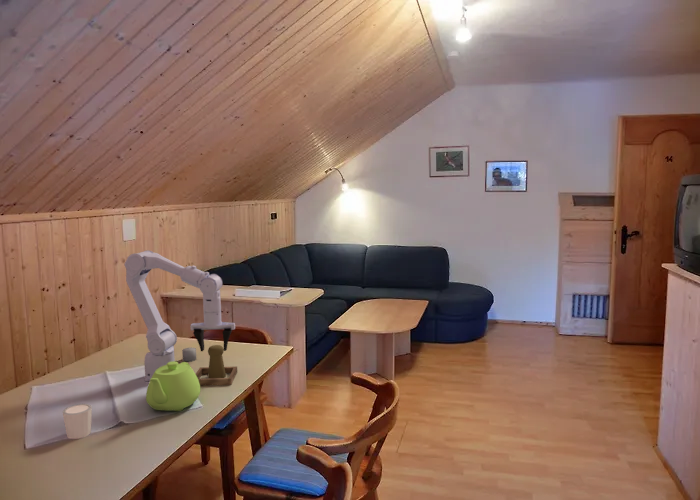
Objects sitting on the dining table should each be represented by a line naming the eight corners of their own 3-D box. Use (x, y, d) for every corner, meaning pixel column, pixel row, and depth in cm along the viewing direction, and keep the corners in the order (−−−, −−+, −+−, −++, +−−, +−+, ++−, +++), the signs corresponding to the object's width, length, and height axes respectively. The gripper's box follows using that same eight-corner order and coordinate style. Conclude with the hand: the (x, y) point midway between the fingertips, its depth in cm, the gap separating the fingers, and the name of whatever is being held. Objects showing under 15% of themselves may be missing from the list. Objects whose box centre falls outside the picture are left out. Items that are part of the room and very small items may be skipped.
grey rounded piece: (181, 362, 194) (180, 351, 194) (184, 357, 199) (184, 347, 199) (194, 361, 195) (194, 351, 194) (197, 357, 200) (197, 347, 199)
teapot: (178, 424, 143) (175, 378, 141) (128, 420, 145) (125, 376, 144) (211, 393, 165) (209, 353, 163) (167, 390, 167) (165, 351, 165)
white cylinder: (86, 425, 143) (84, 401, 142) (98, 433, 138) (96, 407, 137) (60, 435, 137) (57, 409, 137) (71, 442, 133) (69, 416, 132)
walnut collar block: (191, 385, 171) (191, 380, 170) (200, 372, 182) (199, 367, 182) (231, 384, 171) (231, 378, 171) (237, 371, 183) (237, 366, 183)
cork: (222, 380, 175) (221, 348, 174) (205, 379, 176) (203, 348, 175) (228, 373, 181) (227, 343, 180) (211, 373, 182) (210, 343, 181)
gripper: (236, 307, 178) (237, 346, 180) (193, 308, 178) (195, 347, 179) (232, 312, 171) (234, 352, 173) (188, 313, 171) (190, 353, 172)
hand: (213, 350), depth 176 cm, fingers open, 7 cm apart
